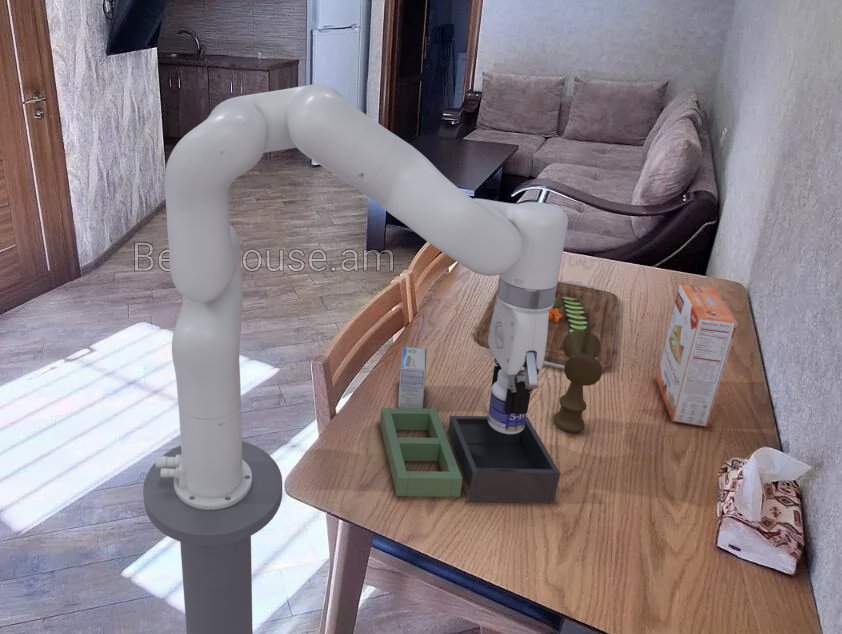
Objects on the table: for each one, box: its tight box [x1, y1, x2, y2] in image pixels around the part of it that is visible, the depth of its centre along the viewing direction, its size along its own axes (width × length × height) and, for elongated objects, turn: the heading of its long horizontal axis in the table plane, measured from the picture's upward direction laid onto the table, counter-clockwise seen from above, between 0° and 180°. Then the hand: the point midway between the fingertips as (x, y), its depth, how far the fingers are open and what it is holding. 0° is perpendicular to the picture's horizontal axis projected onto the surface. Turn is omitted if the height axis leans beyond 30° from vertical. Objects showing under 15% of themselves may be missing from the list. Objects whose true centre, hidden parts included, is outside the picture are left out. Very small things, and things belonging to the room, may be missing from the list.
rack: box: [379, 407, 463, 498], centre depth 104 cm, size 10×18×4 cm, turn 179°
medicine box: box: [397, 346, 427, 409], centre depth 119 cm, size 8×4×9 cm, turn 167°
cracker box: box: [656, 284, 738, 428], centre depth 115 cm, size 14×6×21 cm, turn 160°
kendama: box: [552, 324, 603, 434], centre depth 109 cm, size 6×10×20 cm, turn 157°
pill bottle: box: [487, 369, 527, 434], centre depth 97 cm, size 5×5×9 cm
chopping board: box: [473, 279, 619, 374], centre depth 149 cm, size 45×27×3 cm, turn 151°
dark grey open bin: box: [447, 415, 561, 504], centre depth 101 cm, size 13×14×6 cm
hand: (508, 399), depth 97 cm, fingers closed on pill bottle, 5 cm apart
